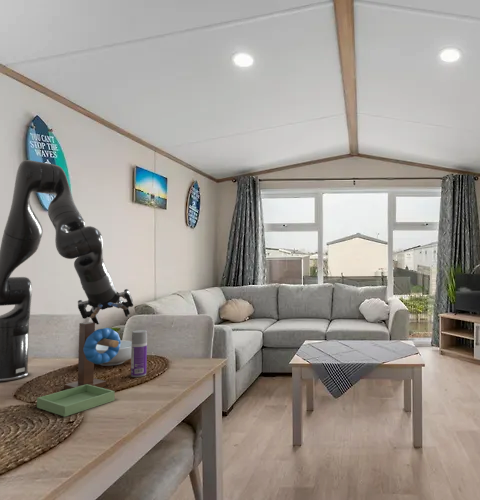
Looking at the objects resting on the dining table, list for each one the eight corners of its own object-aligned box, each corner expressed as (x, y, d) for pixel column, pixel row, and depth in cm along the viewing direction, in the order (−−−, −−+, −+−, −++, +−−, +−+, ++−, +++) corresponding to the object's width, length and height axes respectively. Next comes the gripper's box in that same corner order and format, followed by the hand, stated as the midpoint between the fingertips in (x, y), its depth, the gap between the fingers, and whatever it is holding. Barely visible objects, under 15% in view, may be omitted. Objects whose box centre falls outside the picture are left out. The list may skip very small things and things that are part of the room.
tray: (36, 407, 105) (36, 397, 105) (86, 392, 117) (87, 384, 117) (64, 416, 100) (64, 406, 100) (114, 400, 111) (114, 391, 111)
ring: (80, 366, 114) (81, 331, 114) (116, 358, 124) (117, 325, 124) (86, 368, 113) (87, 332, 113) (122, 359, 122) (123, 326, 123)
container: (149, 373, 137) (150, 330, 137) (140, 377, 132) (141, 332, 132) (136, 372, 137) (137, 329, 138) (127, 376, 133) (128, 332, 133)
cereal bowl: (107, 371, 138) (108, 351, 138) (74, 366, 144) (75, 347, 144) (147, 360, 154) (148, 341, 154) (116, 355, 160) (117, 338, 160)
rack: (64, 389, 120) (65, 323, 120) (91, 382, 127) (92, 320, 127) (100, 399, 112) (102, 329, 112) (127, 391, 119) (128, 325, 119)
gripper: (123, 269, 122) (135, 304, 133) (69, 281, 116) (86, 316, 126) (126, 286, 117) (138, 320, 128) (69, 299, 111) (87, 334, 122)
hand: (112, 318), depth 127 cm, fingers open, 8 cm apart
